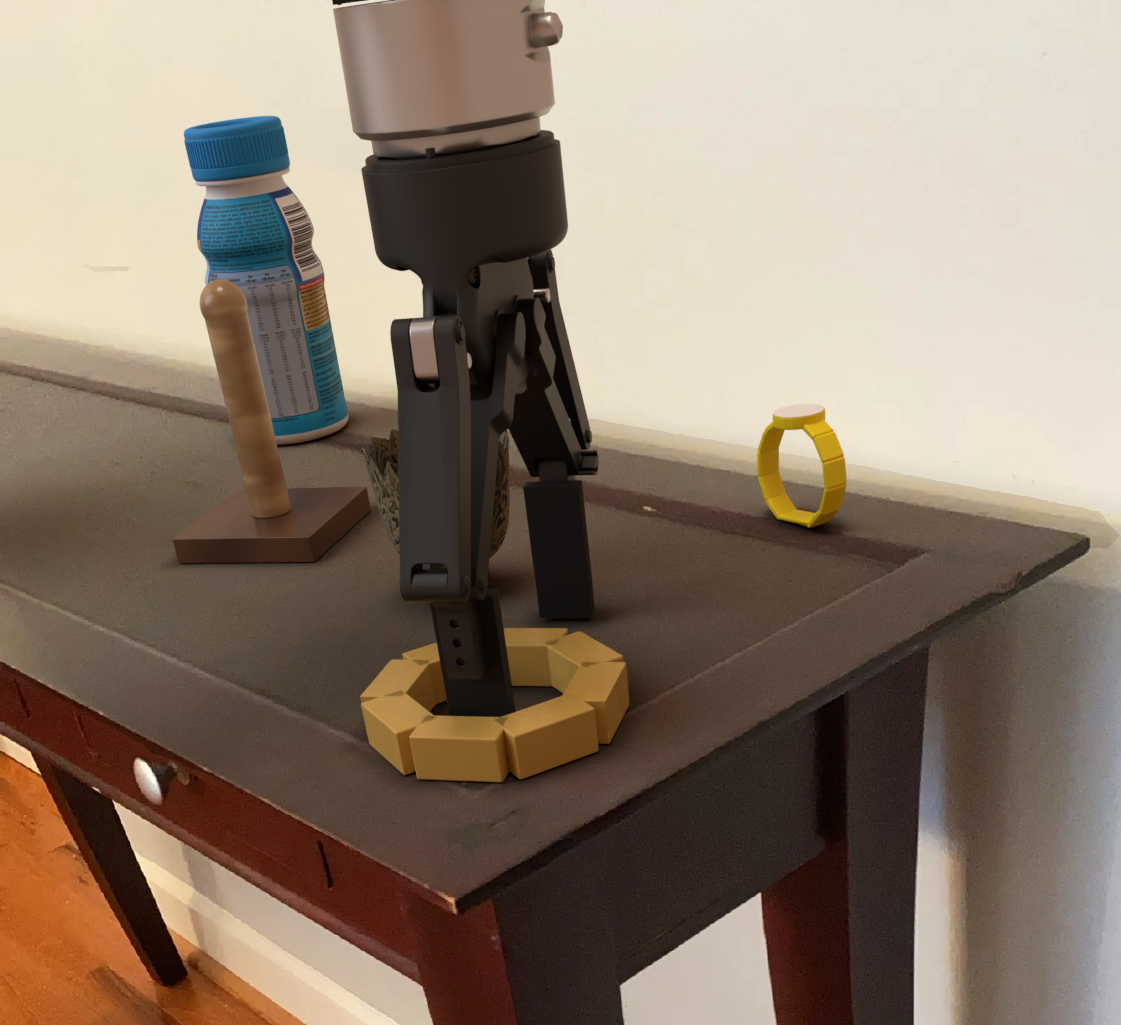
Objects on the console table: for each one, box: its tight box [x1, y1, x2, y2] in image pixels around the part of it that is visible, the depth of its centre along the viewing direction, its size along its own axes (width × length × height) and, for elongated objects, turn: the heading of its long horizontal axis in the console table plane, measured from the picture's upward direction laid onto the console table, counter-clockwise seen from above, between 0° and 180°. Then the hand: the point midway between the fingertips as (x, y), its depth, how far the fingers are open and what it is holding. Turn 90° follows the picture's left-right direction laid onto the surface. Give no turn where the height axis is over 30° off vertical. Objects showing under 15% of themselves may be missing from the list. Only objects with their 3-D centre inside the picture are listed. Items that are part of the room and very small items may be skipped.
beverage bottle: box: [183, 115, 350, 446], centre depth 98 cm, size 8×8×20 cm
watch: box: [756, 403, 848, 528], centre depth 74 cm, size 6×3×6 cm, turn 32°
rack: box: [172, 279, 372, 564], centre depth 80 cm, size 9×9×14 cm
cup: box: [361, 428, 511, 584], centre depth 71 cm, size 8×7×8 cm
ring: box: [359, 627, 630, 783], centre depth 59 cm, size 11×11×2 cm
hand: (530, 673), depth 63 cm, fingers open, 13 cm apart
